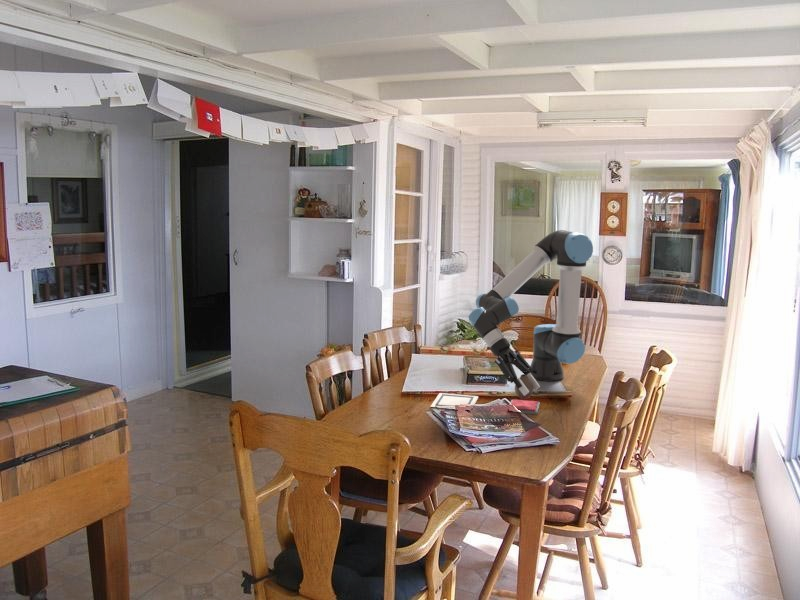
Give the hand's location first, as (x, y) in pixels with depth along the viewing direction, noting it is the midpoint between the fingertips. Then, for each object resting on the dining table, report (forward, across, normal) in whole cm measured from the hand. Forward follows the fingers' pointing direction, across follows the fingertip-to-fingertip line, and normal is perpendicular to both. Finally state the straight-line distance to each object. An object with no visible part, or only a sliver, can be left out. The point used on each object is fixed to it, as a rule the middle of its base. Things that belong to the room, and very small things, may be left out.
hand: (532, 391), depth 260 cm
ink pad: (+3, 0, -8) cm, 8 cm away
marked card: (-14, +13, -24) cm, 31 cm away
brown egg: (0, 0, -5) cm, 5 cm away
